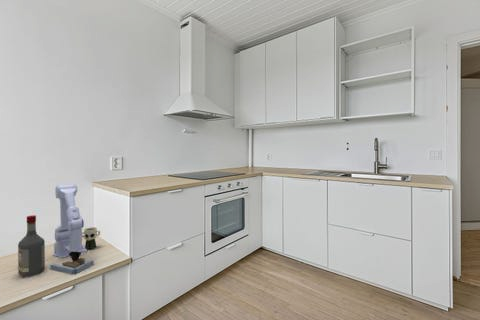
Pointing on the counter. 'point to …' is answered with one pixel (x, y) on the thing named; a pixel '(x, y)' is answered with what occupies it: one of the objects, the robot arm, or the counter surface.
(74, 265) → the walnut tee
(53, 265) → the slate fence
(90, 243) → the character mug
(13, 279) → the counter surface
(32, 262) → the liquor
